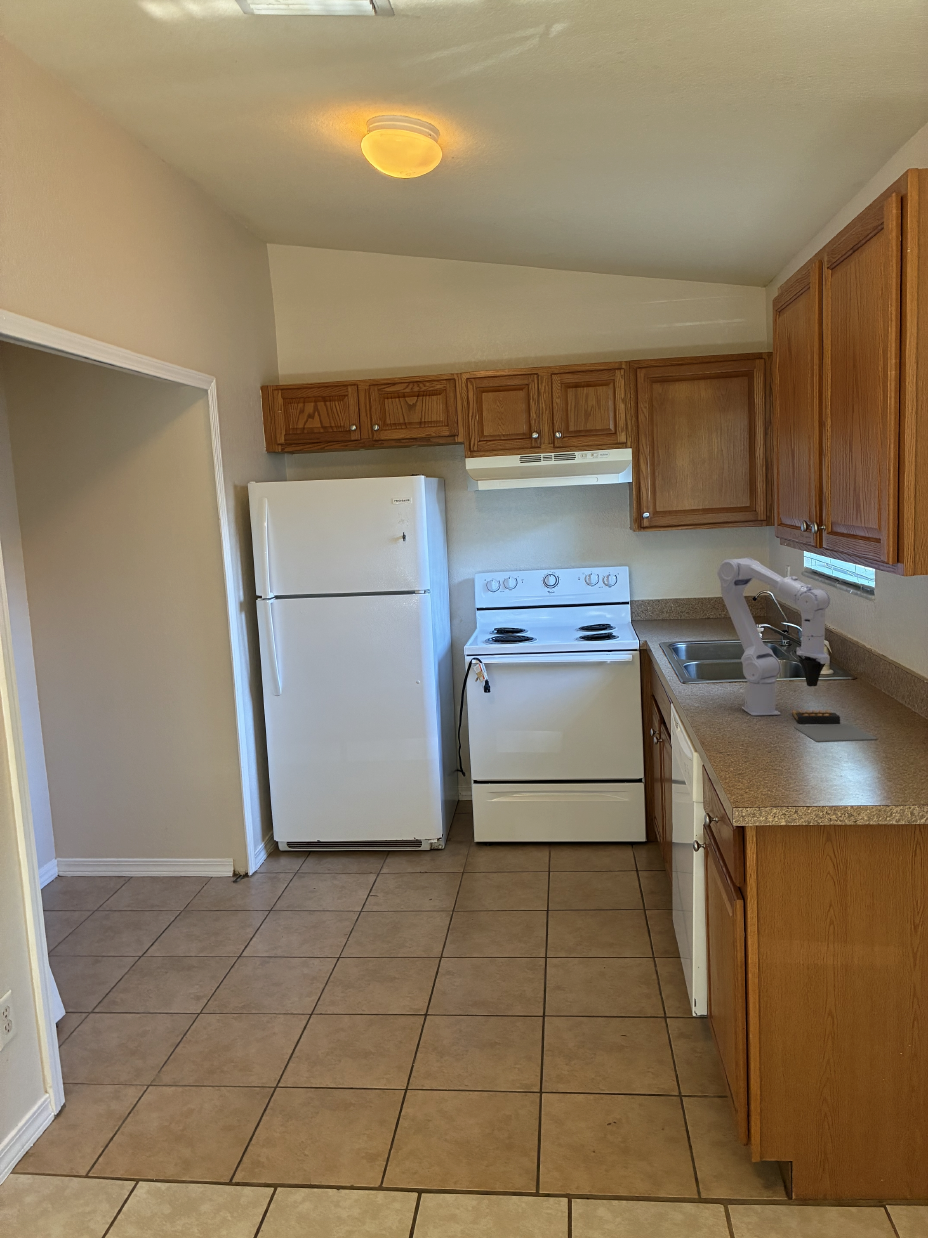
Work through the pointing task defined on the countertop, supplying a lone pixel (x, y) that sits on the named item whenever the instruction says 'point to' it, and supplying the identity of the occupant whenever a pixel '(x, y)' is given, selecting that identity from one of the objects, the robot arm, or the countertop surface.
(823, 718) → the ammunition clip
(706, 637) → the countertop surface
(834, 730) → the mat
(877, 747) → the countertop surface
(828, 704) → the countertop surface
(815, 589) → the robot arm
